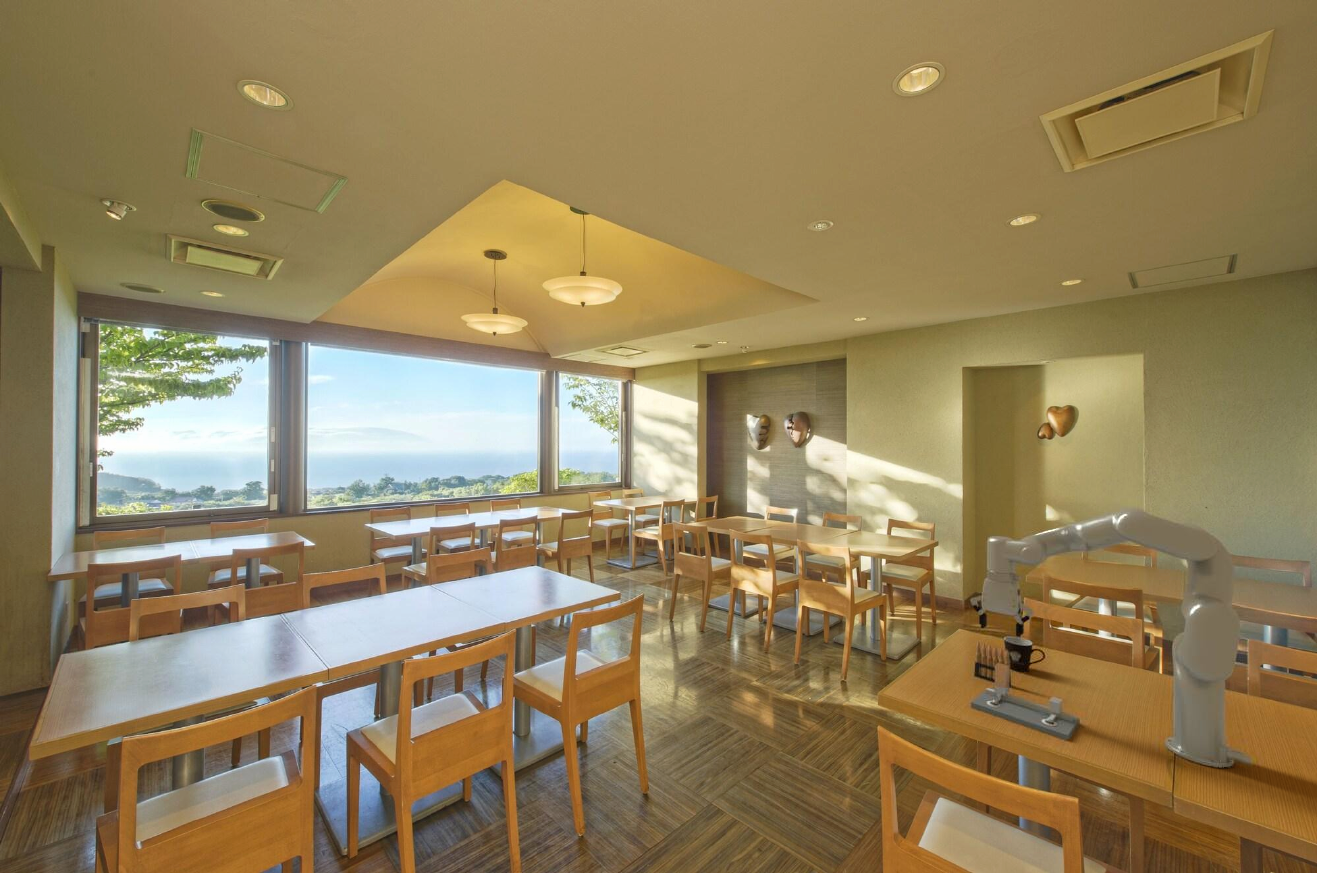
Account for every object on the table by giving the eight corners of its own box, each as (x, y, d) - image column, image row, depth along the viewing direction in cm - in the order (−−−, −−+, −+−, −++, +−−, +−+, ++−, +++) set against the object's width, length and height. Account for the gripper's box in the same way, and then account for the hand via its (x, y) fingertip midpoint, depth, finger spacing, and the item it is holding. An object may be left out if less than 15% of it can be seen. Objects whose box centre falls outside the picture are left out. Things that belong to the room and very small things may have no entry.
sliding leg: (1009, 697, 166) (1009, 665, 167) (999, 706, 161) (999, 673, 161) (998, 693, 169) (998, 662, 169) (988, 702, 163) (988, 670, 163)
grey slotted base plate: (1079, 723, 155) (1079, 702, 155) (1067, 740, 145) (1067, 718, 145) (986, 693, 173) (986, 674, 173) (970, 707, 163) (971, 687, 163)
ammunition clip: (1011, 685, 179) (1011, 649, 179) (1009, 687, 177) (1009, 651, 177) (976, 674, 187) (976, 640, 187) (974, 676, 186) (974, 641, 186)
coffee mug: (998, 665, 195) (998, 637, 195) (1015, 662, 198) (1015, 635, 198) (1028, 678, 184) (1028, 649, 184) (1046, 675, 187) (1047, 647, 187)
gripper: (1037, 580, 163) (1037, 636, 163) (974, 569, 176) (974, 621, 176) (1030, 584, 158) (1030, 642, 158) (966, 573, 171) (966, 626, 171)
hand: (1000, 631), depth 167 cm, fingers open, 9 cm apart
